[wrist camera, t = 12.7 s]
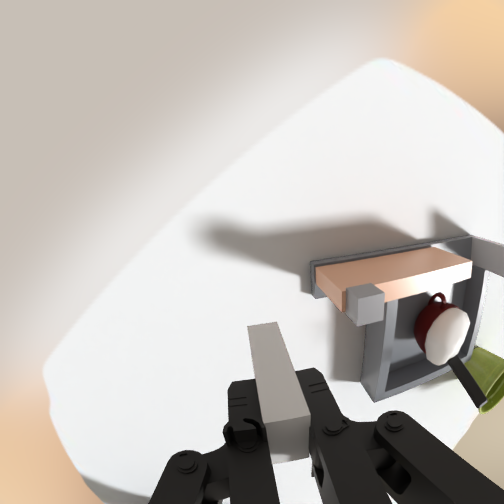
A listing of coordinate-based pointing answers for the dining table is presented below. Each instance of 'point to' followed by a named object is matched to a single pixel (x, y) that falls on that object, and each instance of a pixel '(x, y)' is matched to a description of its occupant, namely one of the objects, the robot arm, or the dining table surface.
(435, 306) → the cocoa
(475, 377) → the plant pot
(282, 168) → the dining table surface
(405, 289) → the cover
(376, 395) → the box
